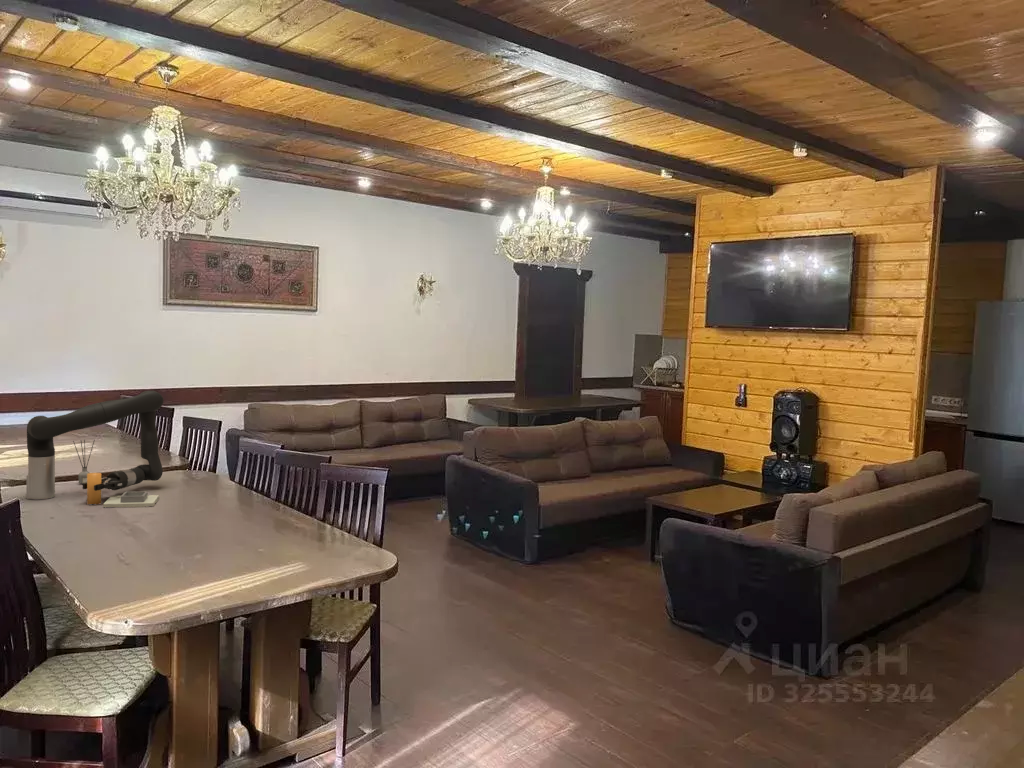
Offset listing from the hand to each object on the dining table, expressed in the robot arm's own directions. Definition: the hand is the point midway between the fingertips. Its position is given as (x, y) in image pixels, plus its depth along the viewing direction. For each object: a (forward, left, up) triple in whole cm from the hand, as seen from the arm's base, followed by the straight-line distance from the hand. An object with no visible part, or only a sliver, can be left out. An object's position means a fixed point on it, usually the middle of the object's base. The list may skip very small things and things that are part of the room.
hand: (89, 487), depth 298 cm
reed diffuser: (-11, +40, -7) cm, 42 cm away
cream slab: (+15, +1, -7) cm, 17 cm away
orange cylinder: (+1, +2, -7) cm, 7 cm away
